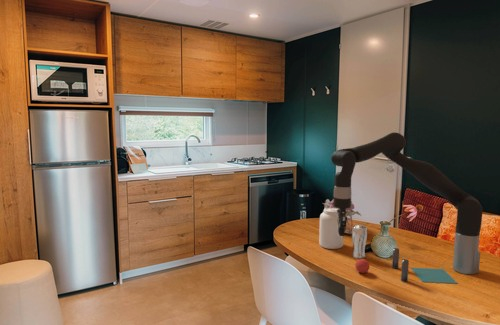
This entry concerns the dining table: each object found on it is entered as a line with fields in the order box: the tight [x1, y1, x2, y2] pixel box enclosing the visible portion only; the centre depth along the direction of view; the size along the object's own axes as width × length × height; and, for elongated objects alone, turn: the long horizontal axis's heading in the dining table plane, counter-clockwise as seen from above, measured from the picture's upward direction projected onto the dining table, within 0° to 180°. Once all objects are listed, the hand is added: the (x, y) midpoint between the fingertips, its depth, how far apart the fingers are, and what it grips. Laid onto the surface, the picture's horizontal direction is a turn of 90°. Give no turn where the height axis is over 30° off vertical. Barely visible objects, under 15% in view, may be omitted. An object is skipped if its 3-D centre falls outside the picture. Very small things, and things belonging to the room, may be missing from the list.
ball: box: [354, 258, 370, 274], centre depth 157 cm, size 6×6×6 cm
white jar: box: [318, 207, 344, 250], centre depth 190 cm, size 12×12×20 cm
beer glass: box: [351, 224, 368, 259], centre depth 175 cm, size 7×7×15 cm
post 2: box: [400, 258, 410, 283], centre depth 149 cm, size 3×3×9 cm
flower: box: [322, 198, 362, 235], centre depth 214 cm, size 20×22×25 cm
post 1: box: [391, 247, 400, 270], centre depth 161 cm, size 3×3×9 cm
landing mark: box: [410, 267, 458, 285], centre depth 154 cm, size 14×14×1 cm
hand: (341, 234), depth 156 cm, fingers closed
